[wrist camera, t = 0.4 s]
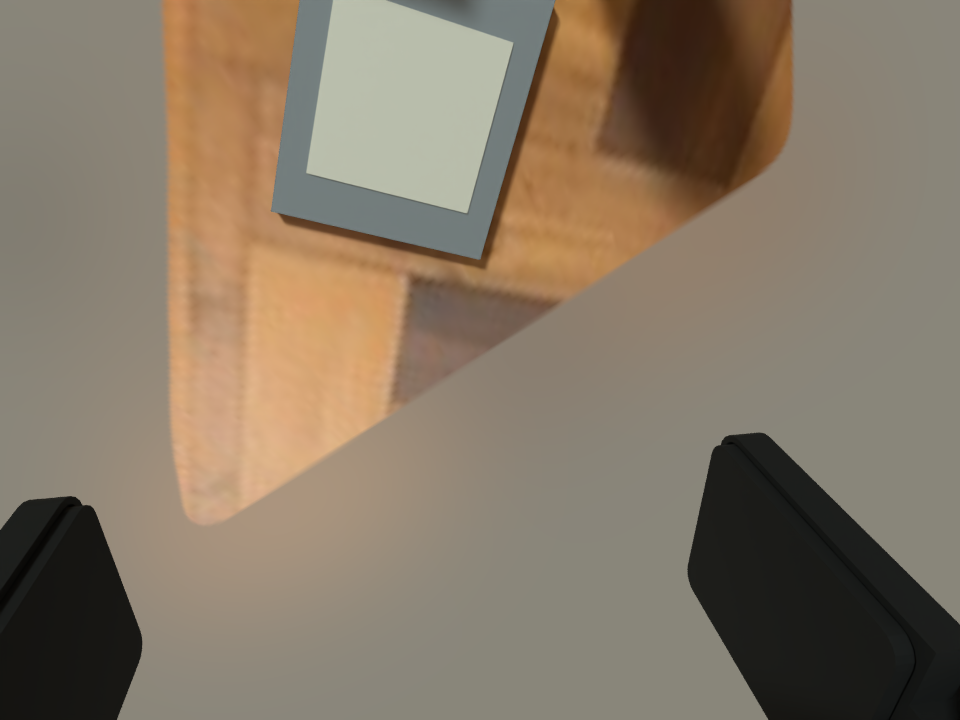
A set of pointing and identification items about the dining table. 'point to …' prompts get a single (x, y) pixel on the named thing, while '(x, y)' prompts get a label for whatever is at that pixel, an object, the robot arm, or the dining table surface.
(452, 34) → the board
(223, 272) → the dining table surface
